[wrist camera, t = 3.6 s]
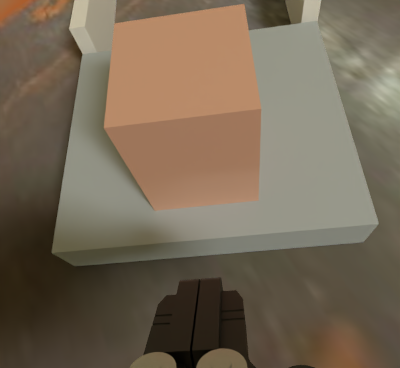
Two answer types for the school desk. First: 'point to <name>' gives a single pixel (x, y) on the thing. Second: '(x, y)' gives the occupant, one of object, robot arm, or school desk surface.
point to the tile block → (187, 107)
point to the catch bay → (105, 16)
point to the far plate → (233, 212)
